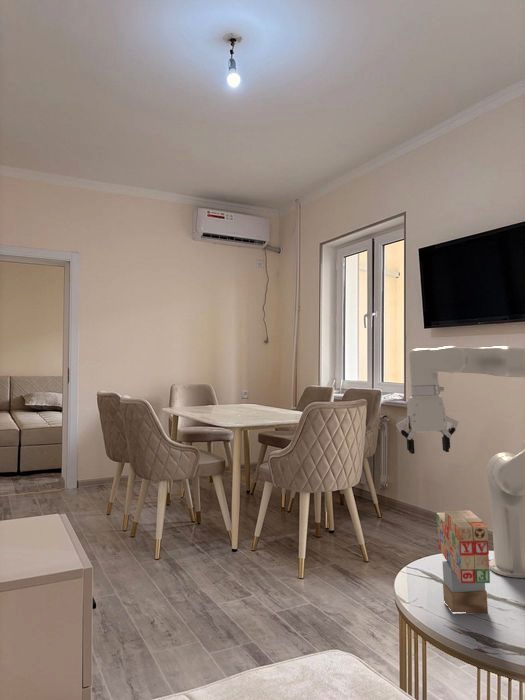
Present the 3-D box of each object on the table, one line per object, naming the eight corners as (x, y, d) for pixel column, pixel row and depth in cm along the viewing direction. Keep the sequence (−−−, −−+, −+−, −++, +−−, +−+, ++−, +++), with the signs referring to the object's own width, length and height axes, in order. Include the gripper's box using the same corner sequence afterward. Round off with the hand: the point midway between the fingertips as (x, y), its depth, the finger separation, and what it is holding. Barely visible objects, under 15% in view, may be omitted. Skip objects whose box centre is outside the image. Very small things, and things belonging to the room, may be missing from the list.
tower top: (475, 580, 127) (473, 559, 127) (485, 590, 121) (483, 568, 121) (443, 582, 126) (442, 561, 127) (452, 592, 121) (451, 570, 121)
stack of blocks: (437, 548, 135) (435, 500, 135) (463, 548, 134) (460, 499, 135) (461, 583, 114) (457, 526, 114) (491, 583, 113) (487, 525, 113)
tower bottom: (477, 601, 126) (476, 580, 127) (488, 613, 120) (486, 591, 121) (444, 603, 126) (442, 582, 127) (453, 615, 120) (451, 593, 121)
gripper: (450, 389, 153) (454, 448, 153) (391, 392, 153) (395, 451, 153) (460, 390, 146) (464, 452, 145) (398, 394, 146) (401, 456, 145)
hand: (428, 452), depth 149 cm, fingers open, 9 cm apart
